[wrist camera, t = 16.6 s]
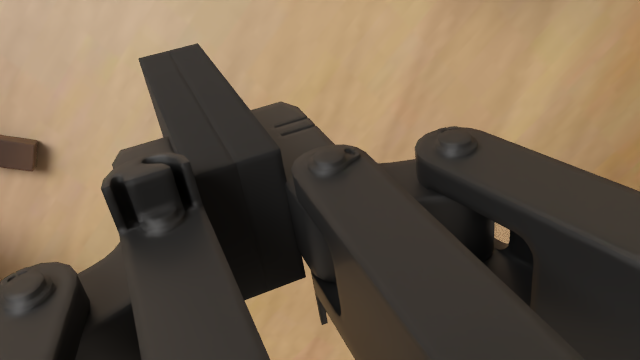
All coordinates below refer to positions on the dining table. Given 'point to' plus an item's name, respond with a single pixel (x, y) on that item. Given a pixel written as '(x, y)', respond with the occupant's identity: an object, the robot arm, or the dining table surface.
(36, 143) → the walnut frame
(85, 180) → the dining table surface
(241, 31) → the dining table surface
